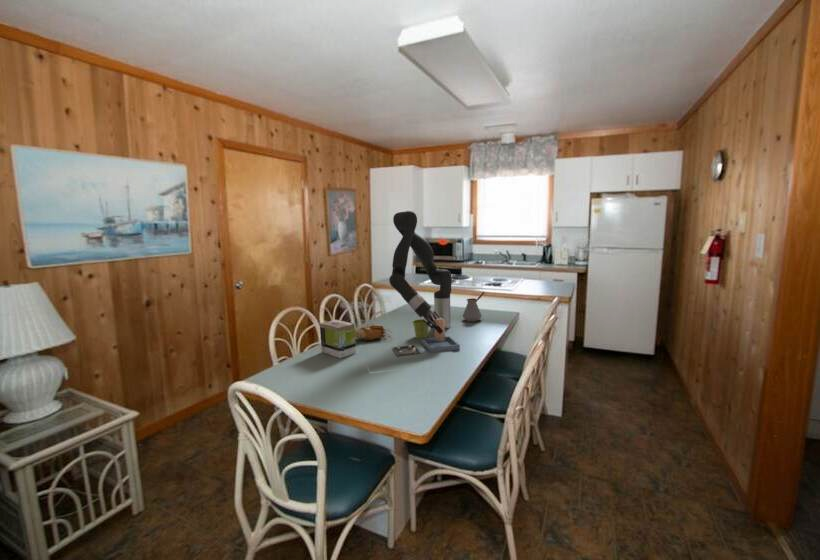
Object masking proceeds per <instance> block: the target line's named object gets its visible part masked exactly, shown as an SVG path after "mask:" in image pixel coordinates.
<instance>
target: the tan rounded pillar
mask: <svg viewBox="0 0 820 560" xmlns="http://www.w3.org/2000/svg"><path fill="white" fill-rule="evenodd" d="M435 320H436V323H437V325H438V326H439V327H440V328H441V329H442V330H443V332H442V333H441V334H439V333H438V332H437V331H436V330H435V328H433V330H434V338H435V341H439V342H440V341H445V337H446V329H445V320H444V319H442V318H438V319H435Z"/></svg>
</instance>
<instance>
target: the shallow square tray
mask: <svg viewBox="0 0 820 560" xmlns="http://www.w3.org/2000/svg"><path fill="white" fill-rule="evenodd" d="M421 343H422V345H423V346H424V347H425V349H427V351H428V352H429V353H437V352H445V351H446V352H447V351H450V352H453V351H454V352H455V351H460V350H461V349H460V348H461V347H460V346H461V345H460V344H459V343H458V342H457V341H456V340H455V339H453V338H452V337H451V336H449V335H447V336H446V335H445V341H440V342H439V341H435V337H431V338H430V337H429V338H428V337H427V338H421Z"/></svg>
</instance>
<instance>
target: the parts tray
mask: <svg viewBox="0 0 820 560" xmlns="http://www.w3.org/2000/svg"><path fill="white" fill-rule="evenodd" d="M392 350H393V352H394V353H395V355H396V356H397V357H404V356H411V355H412V356H413V355H421V351H420V349H419V348H418V347H417V346H416V345H415V344H411V345H410V344H409V345H401V346H394V347H392Z"/></svg>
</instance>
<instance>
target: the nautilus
mask: <svg viewBox="0 0 820 560" xmlns="http://www.w3.org/2000/svg"><path fill="white" fill-rule="evenodd" d="M388 332H389V333H391V331H390V330H389V329H386V328H385V327H384V326H383V325H381V324H377V323H368V324H367V323H366V324H364V325H361V326H359V327H357V328H355V339H356V338H357V339H360V340H363V341H371V340H373V341H374V340H377V339H382V340H390V339H392V335H391V334H389V333H388Z"/></svg>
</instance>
